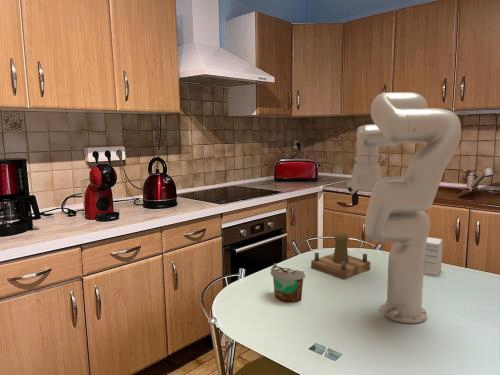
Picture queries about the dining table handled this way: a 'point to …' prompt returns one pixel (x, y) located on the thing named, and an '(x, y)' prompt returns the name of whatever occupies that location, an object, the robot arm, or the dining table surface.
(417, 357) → the dining table surface
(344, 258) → the brown rounded piece
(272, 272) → the food container
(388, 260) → the robot arm
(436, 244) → the supplement box
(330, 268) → the shelf board
